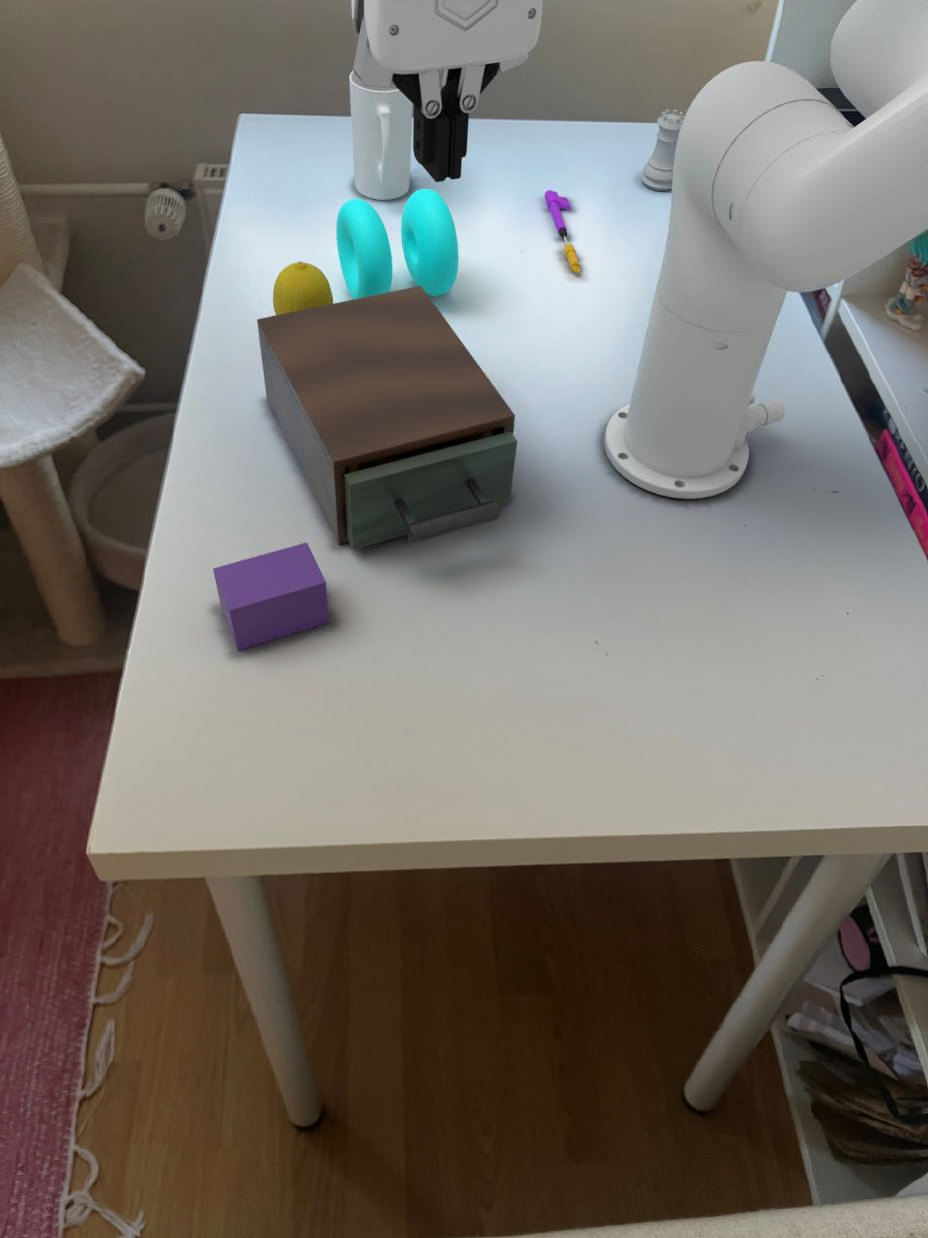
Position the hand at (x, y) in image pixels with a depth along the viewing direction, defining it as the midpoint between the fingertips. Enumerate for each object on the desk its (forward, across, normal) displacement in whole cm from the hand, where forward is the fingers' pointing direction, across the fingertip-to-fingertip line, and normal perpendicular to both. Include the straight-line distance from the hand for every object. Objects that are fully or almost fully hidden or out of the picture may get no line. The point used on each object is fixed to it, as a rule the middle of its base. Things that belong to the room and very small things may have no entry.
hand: (439, 169), depth 64 cm
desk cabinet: (+27, -2, +6) cm, 28 cm away
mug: (+27, +14, +46) cm, 55 cm away
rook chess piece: (+27, +46, +38) cm, 66 cm away
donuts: (+27, +8, +27) cm, 39 cm away
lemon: (+27, -3, +23) cm, 36 cm away
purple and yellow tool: (+27, +30, +31) cm, 51 cm away
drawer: (+26, -2, +1) cm, 26 cm away
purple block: (+27, -16, -9) cm, 33 cm away
